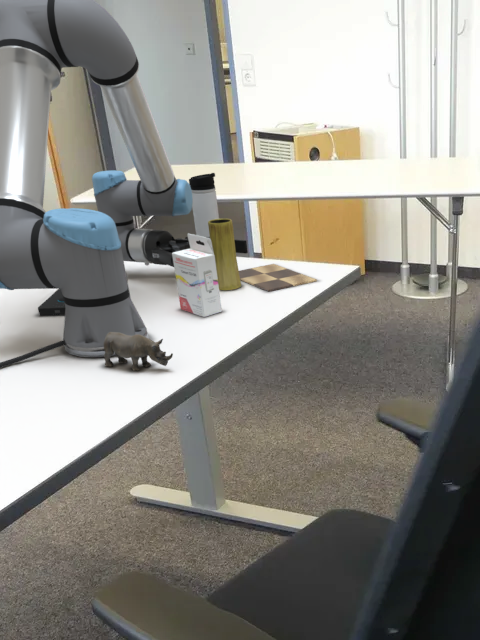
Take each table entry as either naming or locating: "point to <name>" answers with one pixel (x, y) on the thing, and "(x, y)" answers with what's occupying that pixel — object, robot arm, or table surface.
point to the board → (273, 277)
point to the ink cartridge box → (197, 277)
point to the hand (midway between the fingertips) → (229, 253)
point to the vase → (224, 253)
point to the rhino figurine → (133, 349)
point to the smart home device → (53, 305)
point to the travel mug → (203, 202)
